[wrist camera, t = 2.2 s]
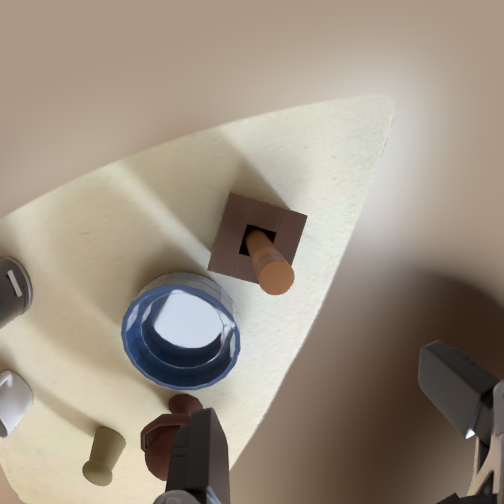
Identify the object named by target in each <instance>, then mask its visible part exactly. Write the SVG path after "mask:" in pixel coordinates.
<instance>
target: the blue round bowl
mask: <svg viewBox="0 0 504 504" xmlns="http://www.w3.org/2000/svg"><path fill="white" fill-rule="evenodd" d="M121 335H122V340H123V345H124V349H125V352H126V353H127V355H128V357H129V359H130V360H131V362H132V364H133V365H134V366H135V367H136V368H137V369H138V370H139V371H140V372H141V373H142V374H143V375H144V376H145V377H147V378H148V379H150V380H152V381H154V382H155V383H157V384H159V385H161V386H164V387H168V388H172V389H176V390H198V389H201V388H205V387H209V386H212V385H213V384H215V383H217V382H218V381H220V380H221V379H223V378H225V377H226V375H227V374H228V373H229V372H230V371H231V369H232V368H233V367H234V366H235V364H236V361H237V358H238V355H239V352H240V330H239V320H238V314H237V311H236V309H235V306H234V304H233V301H232V299H231V298H230V297H229V296H228V295H227V293H226V292H225V291H224V290H223V289H222V288H221V287H220V286H219V285H217V284H216V283H214V282H213V281H211V280H209V279H208V278H206V277H203V276H200V275H196V274H192V273H188V272H182V273H169V274H166V275H163V276H161V277H158V278H155V279H154V280H152V281H151V282H150V283H149V284H148V285H146V286H145V287H144V288H143V289H142V290H141V291H140V293H139V294H138V295H137V296H136V298H135V299H134V300H133V302H132V303H131V305H130V306H129V308H128V310H127V312H126V313H125V315H124V318H123V324H122V331H121Z"/></svg>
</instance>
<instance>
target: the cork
mask: <svg viewBox="0 0 504 504" xmlns="http://www.w3.org/2000/svg"><path fill="white" fill-rule="evenodd" d="M125 445H126V442H125V439H124V438H123V436H122V435H120V434H119V433H118V432H116V431H115V430H112V429H110V428H105V427H104V428H99V429H97V430H96V433H95V437H94V441H93V445H92V450H91V454H90V459H89V461H87V462H86V463H85V464H84V466H83V475H84V477H85V478H86V479H87V480H88V481H90V482H91V483H93V484H95V485H99V486H107V485H109V484H110V482H111V481H112V472H111V471H112V469H113V467H114V465H115V464H116V462H117V460H118V458H119V456H120V454H121V453H122V451H123V449H124V447H125Z"/></svg>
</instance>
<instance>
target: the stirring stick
mask: <svg viewBox="0 0 504 504" xmlns="http://www.w3.org/2000/svg"><path fill="white" fill-rule="evenodd" d="M244 239H245V242H246V245H247V248H248V251H249V254H250V257H251V260H252V263H253V266H254V269H255V272H256V275H257V278H258V281H259V284H260V287H261V288H262V289H263V290H264V291H265V292H266V293H268V294H271V295H280V294H283V293H285V292H287V291H288V290H289V289H290V288H291V287H292V285H293V283H294V271H293V269H292V267H291V266H290V265H289V264H288V262H287V261H286V260H285V259H284V257H283V256H282V255H281V254H280V252H279V251H278V250H277V249H276V247H275V246H274V245H273V244H272V242H271V241H270V240H269V239H268V237H267V236H266V235H265V234H264V232H263V231H262V230H261V229H260V228H259V227H256V226H253V225H249V224H247V226H246V230H245V233H244Z"/></svg>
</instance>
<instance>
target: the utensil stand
mask: <svg viewBox="0 0 504 504" xmlns="http://www.w3.org/2000/svg"><path fill="white" fill-rule="evenodd" d="M306 219H307V215H304V214H301V213H298V212H296V211H293V210H290V209H287V208H284V207H280V206H277V205H274V204H271V203H267V202H264V201H261V200H258V199H254V198H251V197H248V196H244V195H241V194H237V193H234V192H231V191H229V194H228V197H227V200H226V204H225V207H224V211H223V214H222V217H221V221H220V224H219V228H218V231H217V235H216V238H215V242H214V245H213V249H212V252H211V256H210V261H209V265H208V269H207V270H209V271H212V272H216V273H220V274H223V275H227V276H230V277H231V276H232V277H234V278H238V279H242V280H245V281H249V282H253V283H257V284H259V281H258V278H257V275H256V272H255V269H254V266H253V263H252V260H251V257H250V254H249V251H248V248H247V245H246V242H242V240H243V236H244V233H245V230H246V226H247V224H249V225H253V226H256V227H259V228H263V229H265V230H264V234H265V235H266V236H267V237H268V239H269V240H270V241H271V242H272V244H273V245H274V246H275V247H276V249H277V250H278V251H279V252H280V254H281V255H282V256H283V257H284V259H285V260H286V261H287V262H288V264H289V265H290V266H291V265H292V263H293V260H294V256H295V253H296V250H297V247H298V244H299V241H300V238H301V235H302V232H303V229H304V226H305V223H306Z"/></svg>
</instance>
